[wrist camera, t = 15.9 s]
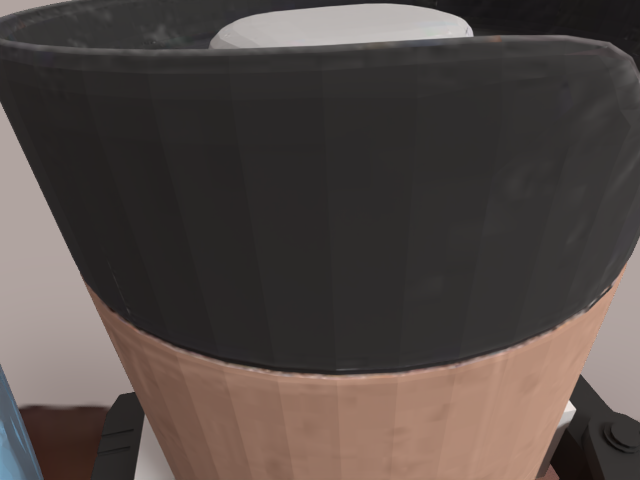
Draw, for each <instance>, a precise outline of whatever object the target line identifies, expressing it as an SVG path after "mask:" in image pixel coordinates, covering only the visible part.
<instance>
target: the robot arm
mask: <svg viewBox="0 0 640 480" xmlns="http://www.w3.org/2000/svg"><path fill="white" fill-rule="evenodd" d="M101 436H102V439H101V440H100V443H99V447H98V451H97V454H98V456H97V457H96V459H95V463H94V467H93V471H92V476H91V480H176V479H175V477H174V475H173V473H172V471H171V469H170V466H169V464H168V462H167V460H166V458H165V456H164V453H163V451H162V449H161V447H160V445H159V443H158V440H157V438H156V436H155V434H154V432H153V430H152V428H151V425H150V423H149V421H148V419H147V417H146V415H145V412H144V410H143V408H142V406H141V404H140V402H139V399H138V397H137V395H136V393H135V392H132V393H127V394H121V395H119V397H118V398H117V400H116V401H115V403H114V404H113V406H112V407H111V409H110V410H109V412H108V413H107V415H106V419H105V423H104V427H103V431H102V435H101ZM550 464H551V465H552V467H553V468H554V470H555V472H556V473H557V475H558V476H559V478H560V479H559V480H640V423H639V422H638V421H636V420H634V419H632V418H630V417H629V416H627V415H624V414H620V413H616V412H613V411H612V410H611V409H610V408H609V407H608V406H607V405H606V404H605V402H604V401H603V400H602V399H601V398H600V397H599V395H598V394H597V393H596V392H595V391H594V390H593V388H592V387H591V386H590V385H589V384H588V382H587V381H586V380H585V379H584V378H583V377H582V375H581V374H580V375H579V378H578V380H577V382H576V385H575V387H574V389H573V392H572V394H571V396H570V399H569V401H568V403H567V405H566V408H565V410H564V412H563V415H562V417H561V419H560V422H559V424H558V426H557V429H556V431H555V433H554V436H553V438H552V440H551V443H550V445H549V447H548V449H547V452H546V454H545V456H544V459H543V461H542V463H541V466H540V468H539V470H538V473H537V475H536V477H535V479H536V478H540V477H544V476H545V474H546V472H547V470H548V468H549V465H550ZM0 480H44V478H43V475H42V473H41V470H40V467H39V464H38V461H37V458H36V455H35V452H34V449H33V447H32V444H31V441H30V438H29V436H28V433H27V430H26V428H25V425H24V422H23V420H22V417H21V415H20V412H19V409H18V407H17V405H16V402H15V399H14V397H13V394H12V392H11V389H10V387H9V384H8V382H7V379H6V377H5V374H4V372H3V370H2V367H1V365H0Z"/></svg>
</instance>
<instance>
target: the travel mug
mask: <svg viewBox="0 0 640 480" xmlns="http://www.w3.org/2000/svg"><path fill="white" fill-rule="evenodd" d="M0 102H1V104H2V107H3V109H4V111H5V113H6V115H7V117H8V119H9V121H10V123H11V126H12V128H13V130H14V132H15V134H16V136H17V139H18V141H19V143H20V145H21V147H22V149H23V152H24V154H25V156H26V158H27V160H28V162H29V165H30V167H31V169H32V171H33V173H34V175H35V178H36V179H37V182H38V184H39V186H40V188H41V190H42V192H43V195H44V197H45V199H46V201H47V203H48V205H49V207H50V210H51V212H52V214H53V216H54V218H55V220H56V223H57V225H58V227H59V229H60V231H61V233H62V236H63V238H64V240H65V242H66V244H67V246H68V248H69V251H70V253H71V255H72V257H73V259H74V261H75V263H76V265H77V267H78V269H79V271H80V274H81V276H82V279H83V281H84V283H85V285H86V287H87V289H88V292H89V294H90V296H91V298H92V300H93V302H94V304H95V306H96V309H97V311H98V313H99V315H100V317H101V320H102V322H103V324H104V326H105V328H106V330H107V333H108V334H109V337H110V339H111V341H112V343H113V345H114V348H115V350H116V352H117V354H118V356H119V358H120V361H121V363H122V365H123V367H124V369H125V371H126V374H127V376H128V378H129V380H130V382H131V384H132V387H133V389H134V391H135V393H136V395H137V397H138V399H139V402H140V404H141V406H142V408H143V410H144V412H145V415H146V417H147V419H148V421H149V423H150V425H151V428H152V430H153V432H154V434H155V436H156V438H157V440H158V443H159V445H160V447H161V449H162V451H163V453H164V456H165V458H166V460H167V462H168V464H169V466H170V469H171V471H172V473H173V475H174V477H175V479H176V480H535V477H536V475H537V473H538V470H539V468H540V466H541V463H542V461H543V459H544V456H545V454H546V452H547V449H548V447H549V445H550V443H551V440H552V438H553V436H554V433H555V431H556V429H557V426H558V424H559V422H560V419H561V417H562V415H563V412H564V410H565V408H566V405H567V403H568V401H569V399H570V396H571V394H572V392H573V389H574V387H575V385H576V382H577V380H578V378H579V375H580V373H581V371H582V368H583V366H584V364H585V361H586V359H587V357H588V355H589V352H590V350H591V347H592V345H593V343H594V341H595V338H596V336H597V334H598V331H599V329H600V327H601V324H602V322H603V320H604V317H605V315H606V313H607V311H608V308H609V306H610V304H611V301H612V299H613V296H614V294H615V292H616V289H617V287H618V285H619V283H620V280H621V278H622V276H623V273H624V271H625V269H626V265H627V261H628V260H629V258H630V256H631V255H632V253H633V251H634V248H635V246H636V244H637V241H638V239H639V236H640V0H72V1H67V2H61V3H56V4H50V5H46V6H41V7H36V8H32V9H28V10H24V11H20V12H16V13H13V14H10V15H7V16H3V17H1V18H0Z"/></svg>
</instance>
